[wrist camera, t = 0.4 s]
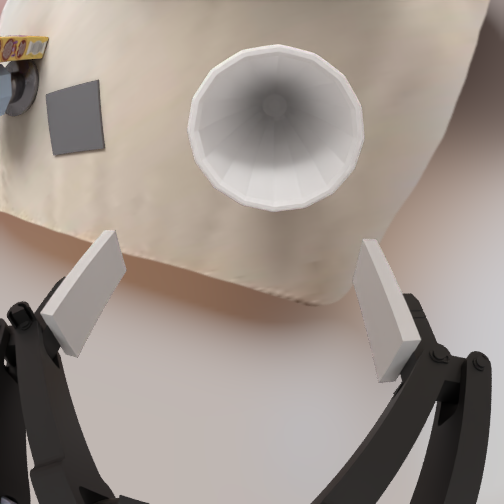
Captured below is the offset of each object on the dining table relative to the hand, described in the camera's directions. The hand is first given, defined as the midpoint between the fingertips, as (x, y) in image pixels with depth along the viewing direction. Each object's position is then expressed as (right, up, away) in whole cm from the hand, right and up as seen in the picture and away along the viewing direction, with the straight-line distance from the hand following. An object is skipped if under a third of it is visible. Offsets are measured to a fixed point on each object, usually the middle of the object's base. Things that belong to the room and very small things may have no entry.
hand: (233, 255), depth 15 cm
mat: (-27, +21, +21) cm, 40 cm away
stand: (-40, +29, +17) cm, 52 cm away
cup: (+4, +20, +20) cm, 28 cm away
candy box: (-36, +35, +13) cm, 52 cm away
